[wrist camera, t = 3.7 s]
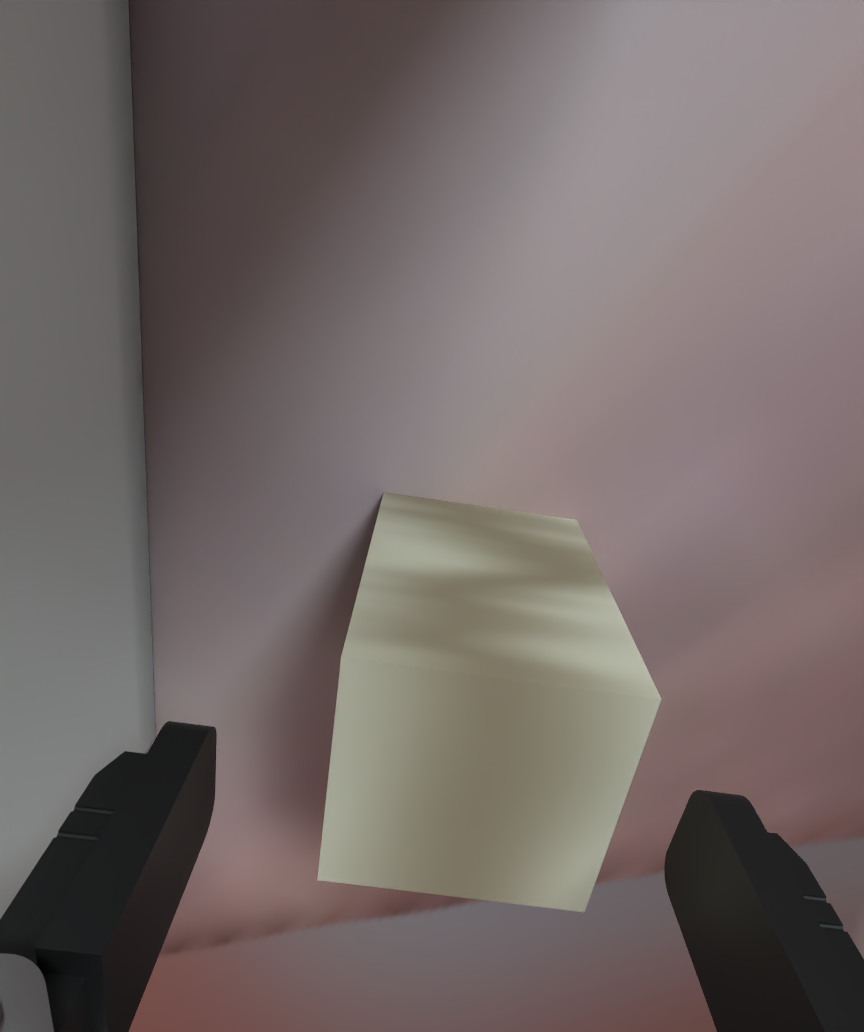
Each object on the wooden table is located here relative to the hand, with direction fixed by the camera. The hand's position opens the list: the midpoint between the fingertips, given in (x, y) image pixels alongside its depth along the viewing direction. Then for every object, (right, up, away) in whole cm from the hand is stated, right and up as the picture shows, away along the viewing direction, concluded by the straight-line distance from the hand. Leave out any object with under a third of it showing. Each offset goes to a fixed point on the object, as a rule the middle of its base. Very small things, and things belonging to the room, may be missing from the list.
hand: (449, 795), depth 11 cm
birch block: (+1, +3, +7) cm, 7 cm away
